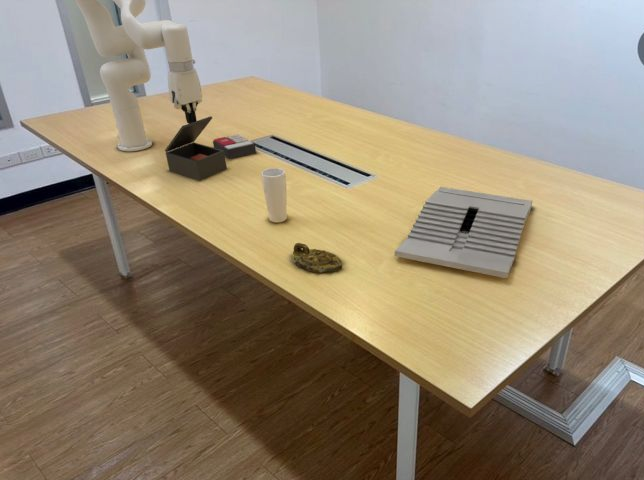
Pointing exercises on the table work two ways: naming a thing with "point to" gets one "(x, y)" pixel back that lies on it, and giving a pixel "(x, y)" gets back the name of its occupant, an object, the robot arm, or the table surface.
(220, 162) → the case
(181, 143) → the case lid
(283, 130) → the table surface
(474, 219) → the grey grooved board
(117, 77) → the robot arm
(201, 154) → the block
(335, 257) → the seal
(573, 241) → the table surface
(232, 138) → the calculator
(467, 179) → the table surface
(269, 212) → the drinking glass
